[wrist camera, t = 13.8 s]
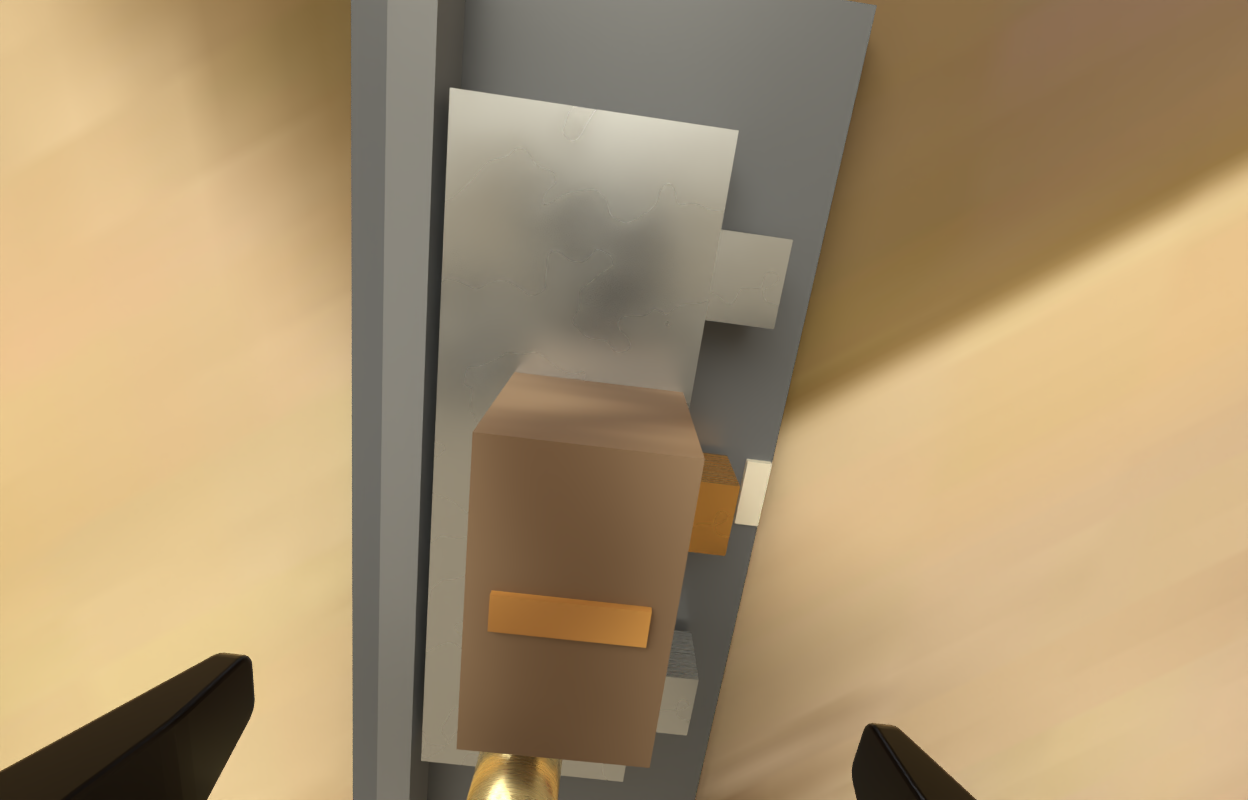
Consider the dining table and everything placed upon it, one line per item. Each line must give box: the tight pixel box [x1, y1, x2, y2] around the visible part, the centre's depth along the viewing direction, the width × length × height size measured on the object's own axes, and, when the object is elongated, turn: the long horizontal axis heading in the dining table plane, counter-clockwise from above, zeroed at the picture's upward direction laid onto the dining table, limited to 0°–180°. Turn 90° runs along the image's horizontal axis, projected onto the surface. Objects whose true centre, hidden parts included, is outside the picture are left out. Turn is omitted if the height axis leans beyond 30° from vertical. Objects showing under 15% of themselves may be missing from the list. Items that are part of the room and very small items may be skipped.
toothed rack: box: [421, 88, 793, 800], centre depth 14 cm, size 8×18×6 cm, turn 172°
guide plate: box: [351, 0, 877, 800], centre depth 17 cm, size 12×29×3 cm, turn 172°
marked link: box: [457, 372, 705, 768], centre depth 13 cm, size 4×7×4 cm, turn 173°
